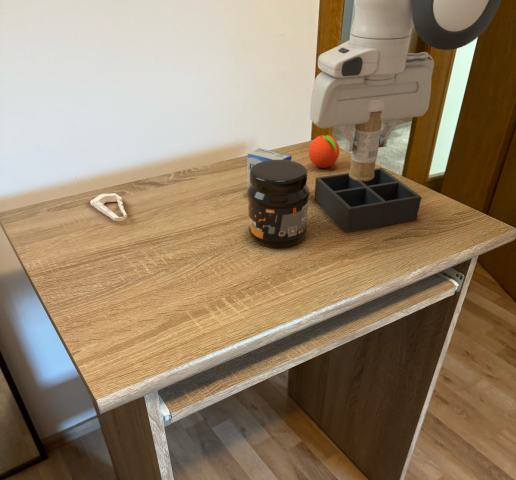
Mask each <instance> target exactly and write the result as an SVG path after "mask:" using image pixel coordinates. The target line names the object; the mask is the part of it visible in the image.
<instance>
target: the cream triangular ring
mask: <svg viewBox="0 0 516 480" xmlns="http://www.w3.org/2000/svg"><path fill="white" fill-rule="evenodd" d="M113 202H117V206H118V208H119V211H120V213H121V214H122V215H123V216H118V215H117V214H116V213H115V212H113V211H112V210H111V209H110V208H109V207H107V206H106V205H105V204H106V203H113ZM89 203H90V205H91V206H92V207H94V208H95V209H96V210H97V211H99V212H100V213H102V214H103V215H105V216H107V217H109V218H110V219H111V220H112V221H114V222H122V221H125V220H126V219H127V218H128V213H127V212H126V210H125V207H124V203H123V198H122V197H121V196H120V195H118V194H117V193H115V192H114V193H100V194H99V195H97V196H96V197H95V198H92V199H91V200H90V202H89Z"/></svg>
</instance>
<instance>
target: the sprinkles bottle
mask: <svg viewBox="0 0 516 480" xmlns="http://www.w3.org/2000/svg"><path fill="white" fill-rule="evenodd" d="M384 101H385V99H384V98H379V99H372V100H370V101H369V108H368V112H371V113H370V117H369V118H370V119H369V120H368V122H367V123H363V124H355V125H354V131H353V135H352V137H353V138H354V139H355V140H358V145H357V150H356V151H351V152H350V153H351V154H350V165H349V166H350V168H349V172H348V173H349V177H350V178H352V179H353V180H356V181H369V180H371V179H373V178H374V170H375V169H376V162H377V160H378V159H377V158H378V153H379V148H378V146H379V139H380V132H381V130H382V121H380V115H381V113H382V112H381V111H382V110H383V109H384Z"/></svg>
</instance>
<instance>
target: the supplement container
mask: <svg viewBox="0 0 516 480" xmlns="http://www.w3.org/2000/svg"><path fill="white" fill-rule="evenodd" d="M307 182H308V169H307V167H306V166H304V164H301V163H300V162H297V161H294V160H291V161H289V160H268V161H263V162H260V163H257V164H255V165H254V166H253V167H252V168H251V169H250V183H251V184H250V185H249V187H248V186H247V190H246V193H247V207H248V234H249V236H250V238H251V239H252V240H253V241H254V242H256V243H258V244H259V245H262V246H265V247H269V248H285V247H291V246H294V245H295V244H298V243H299V242H301V241H302V240H303V239H304V238H305V236H306V234H307V230H308V227H307V225H308V223H307V222H308V209H309V208H308V206H309V205H308V204H309V197H310V188H309V186H308V185H307Z"/></svg>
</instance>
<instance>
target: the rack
mask: <svg viewBox="0 0 516 480" xmlns="http://www.w3.org/2000/svg"><path fill="white" fill-rule="evenodd" d="M314 182H315V183H314V198H313V199H314V201H315V202H316V203H317V204H318V205H319V206H320V207H321V209H323V210H324V212H326V213H327V214H328V215H329V216H330V218H332V219H333V220H334V221H335V223H336V224H337V225H338V226H339V227H340V228H341V229H342V230H343V231H344V232H345V233H352V232H356V231H363V230H368V229H373V228H379V227H384V226H390V225H395V224H400V223H406V222H412V221H417V219H418V215H419V210H420V206H421V201H422V196H421V195H420V194H419V193H417V192H416V191H414V190H413V189H412V188H410V187H409V186H407V185H406V184H404V182H402V181H400V180H399V179H398V178H397V177H395V176H393V175H392V174H391V173H390V172H388V171H387V170H385V169H384V168H383V167H379V168H378V167H377V168H375V170H374V178H373V179H371V180H369V181H356V180H353V179H352V178H350V177H349V172H344V173H337V174H329V175H325V176H318V177H315V181H314Z"/></svg>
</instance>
